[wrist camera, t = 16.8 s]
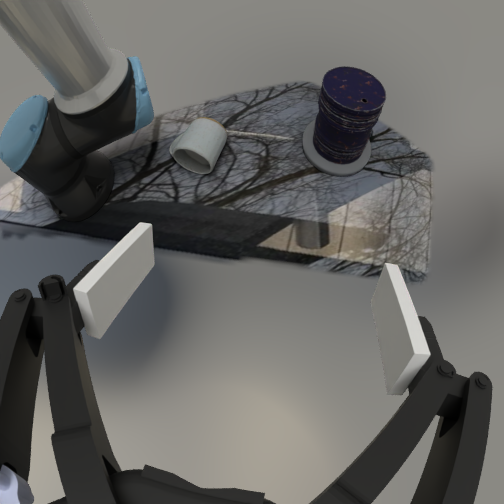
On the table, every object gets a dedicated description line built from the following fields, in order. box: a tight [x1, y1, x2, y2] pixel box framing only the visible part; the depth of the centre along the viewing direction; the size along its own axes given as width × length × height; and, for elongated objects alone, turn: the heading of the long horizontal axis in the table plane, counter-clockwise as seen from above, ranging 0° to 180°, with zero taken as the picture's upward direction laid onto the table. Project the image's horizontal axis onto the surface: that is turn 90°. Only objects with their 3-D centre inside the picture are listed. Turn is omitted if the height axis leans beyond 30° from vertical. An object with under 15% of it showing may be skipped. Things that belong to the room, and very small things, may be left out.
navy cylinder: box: [313, 67, 386, 165], centre depth 46 cm, size 10×10×15 cm
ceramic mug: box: [169, 117, 227, 174], centre depth 52 cm, size 11×8×8 cm
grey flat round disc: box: [302, 119, 371, 177], centre depth 54 cm, size 13×13×2 cm
